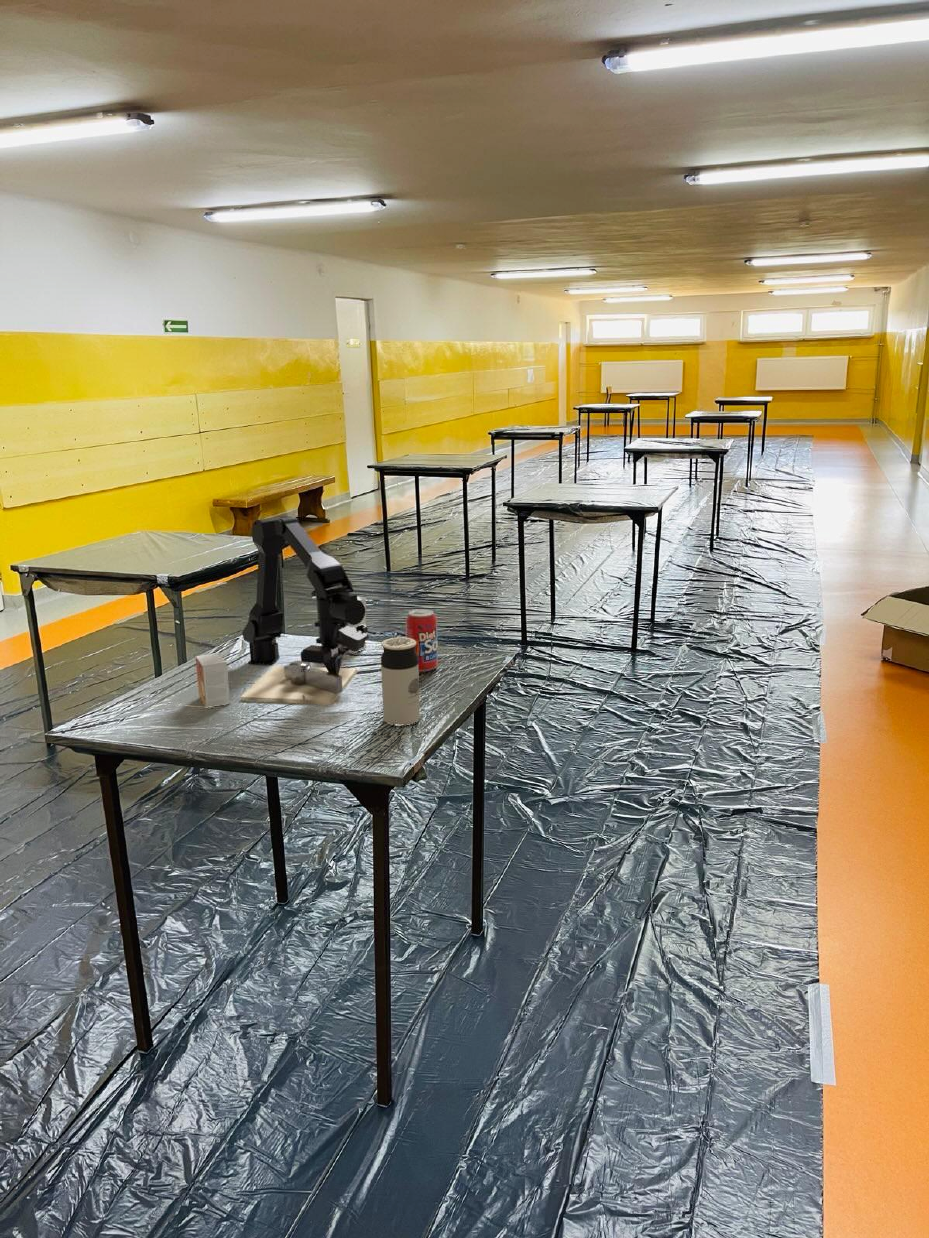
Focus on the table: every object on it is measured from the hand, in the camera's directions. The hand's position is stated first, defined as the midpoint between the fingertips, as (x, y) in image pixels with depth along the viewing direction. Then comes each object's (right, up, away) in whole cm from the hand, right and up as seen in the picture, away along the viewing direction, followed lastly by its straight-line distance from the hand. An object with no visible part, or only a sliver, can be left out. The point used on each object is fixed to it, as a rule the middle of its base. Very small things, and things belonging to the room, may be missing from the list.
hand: (335, 679), depth 208 cm
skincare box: (-1, +6, +32) cm, 32 cm away
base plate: (-9, -2, +5) cm, 10 cm away
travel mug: (+17, -8, -16) cm, 25 cm away
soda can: (+20, +1, +16) cm, 26 cm away
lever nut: (-6, -1, +2) cm, 6 cm away
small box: (-28, -5, -4) cm, 28 cm away
